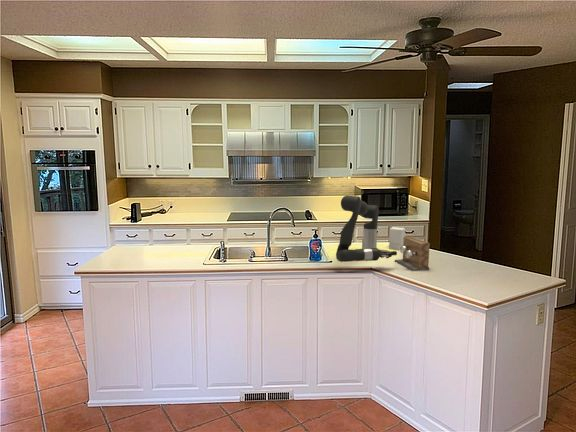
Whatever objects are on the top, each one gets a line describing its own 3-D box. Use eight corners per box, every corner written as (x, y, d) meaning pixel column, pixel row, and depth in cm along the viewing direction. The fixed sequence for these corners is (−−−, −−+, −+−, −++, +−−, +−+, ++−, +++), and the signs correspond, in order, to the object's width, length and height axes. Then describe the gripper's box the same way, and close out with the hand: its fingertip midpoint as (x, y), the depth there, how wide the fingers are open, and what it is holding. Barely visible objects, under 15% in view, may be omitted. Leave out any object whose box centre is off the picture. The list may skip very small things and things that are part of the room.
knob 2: (408, 258, 257) (408, 251, 256) (404, 256, 261) (405, 249, 261) (420, 257, 259) (421, 250, 258) (416, 256, 263) (417, 249, 263)
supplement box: (404, 248, 315) (405, 227, 312) (401, 250, 307) (401, 229, 305) (392, 246, 319) (393, 226, 317) (388, 248, 312) (389, 228, 310)
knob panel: (412, 270, 256) (413, 244, 253) (394, 261, 277) (395, 237, 274) (429, 269, 258) (430, 243, 256) (410, 260, 279) (411, 236, 277)
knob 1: (403, 253, 269) (403, 246, 269) (399, 252, 274) (400, 245, 273) (414, 253, 271) (415, 246, 271) (411, 251, 275) (411, 244, 275)
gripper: (374, 250, 250) (402, 249, 254) (365, 245, 263) (391, 244, 267) (374, 263, 251) (401, 261, 255) (364, 257, 264) (391, 256, 268)
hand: (396, 253), depth 261 cm, fingers closed
